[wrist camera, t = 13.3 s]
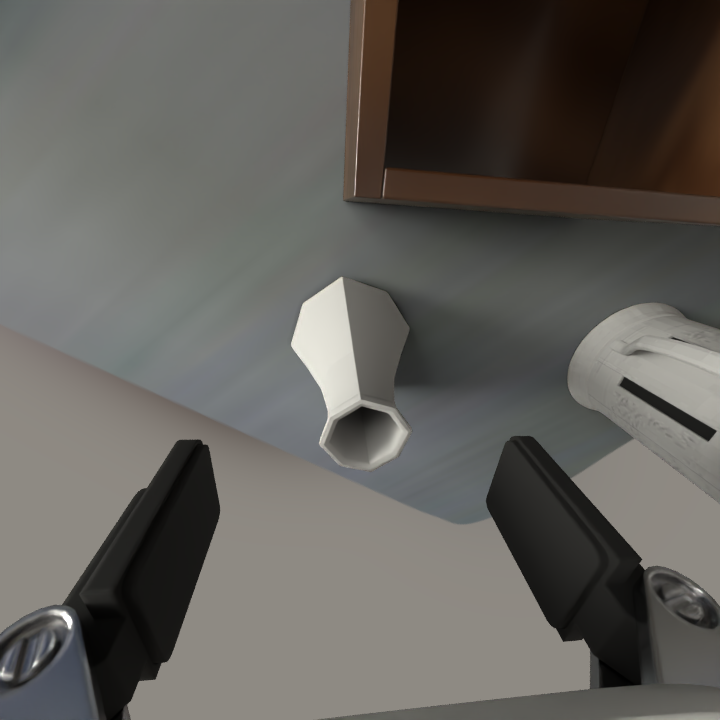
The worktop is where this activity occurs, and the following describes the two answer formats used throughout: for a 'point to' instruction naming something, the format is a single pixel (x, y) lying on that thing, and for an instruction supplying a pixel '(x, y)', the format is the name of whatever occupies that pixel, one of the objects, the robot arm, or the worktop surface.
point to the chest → (537, 107)
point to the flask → (355, 370)
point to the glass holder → (657, 385)
